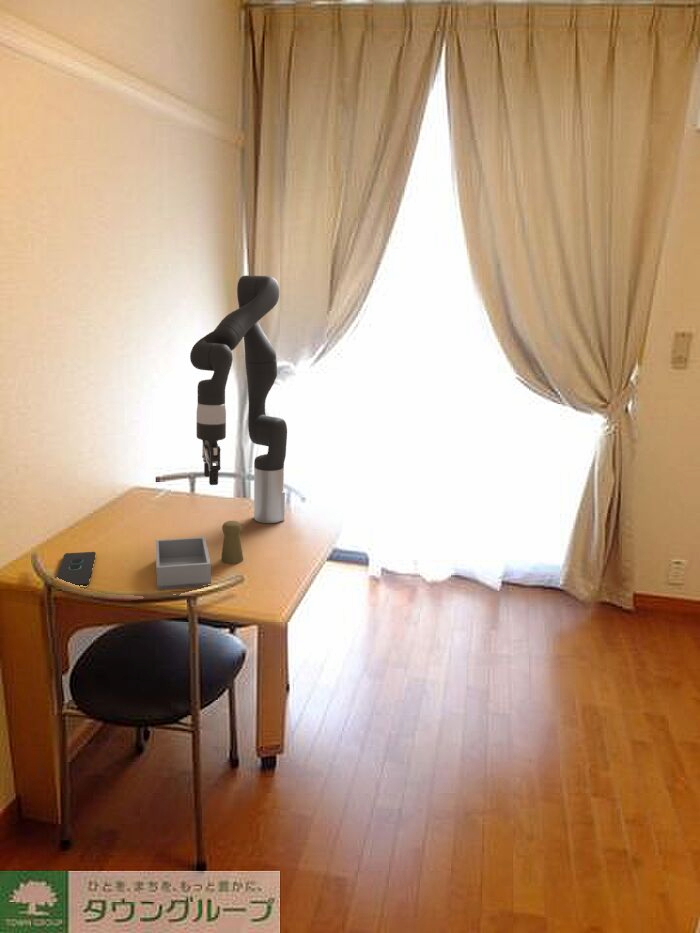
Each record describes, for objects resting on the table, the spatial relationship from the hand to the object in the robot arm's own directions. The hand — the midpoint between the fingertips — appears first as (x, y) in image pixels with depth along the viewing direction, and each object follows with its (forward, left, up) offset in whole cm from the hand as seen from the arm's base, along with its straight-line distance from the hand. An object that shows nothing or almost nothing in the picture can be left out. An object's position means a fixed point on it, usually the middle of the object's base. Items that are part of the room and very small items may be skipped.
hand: (210, 480), depth 184 cm
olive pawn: (-5, +2, -23) cm, 23 cm away
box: (+8, +8, -22) cm, 25 cm away
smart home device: (+35, +2, -23) cm, 42 cm away
